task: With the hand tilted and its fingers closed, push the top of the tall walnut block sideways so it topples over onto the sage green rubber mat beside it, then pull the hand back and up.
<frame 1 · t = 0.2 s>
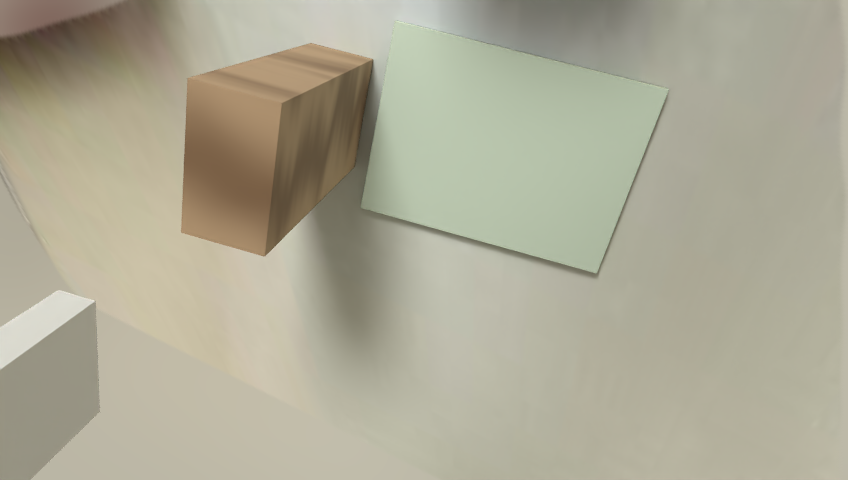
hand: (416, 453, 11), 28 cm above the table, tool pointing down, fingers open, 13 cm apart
walnut block: (333, 107, 38), on the table
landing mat: (501, 151, 37), on the table
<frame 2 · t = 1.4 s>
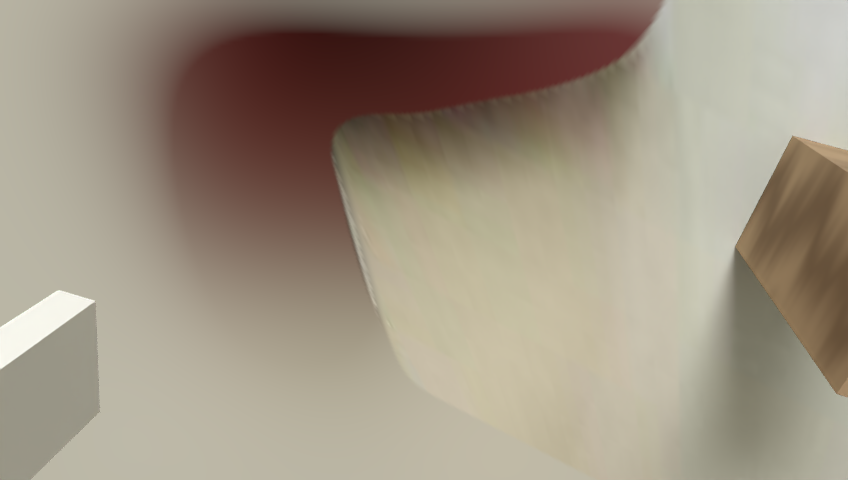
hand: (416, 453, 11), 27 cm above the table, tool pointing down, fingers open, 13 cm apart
walnut block: (797, 203, 34), on the table
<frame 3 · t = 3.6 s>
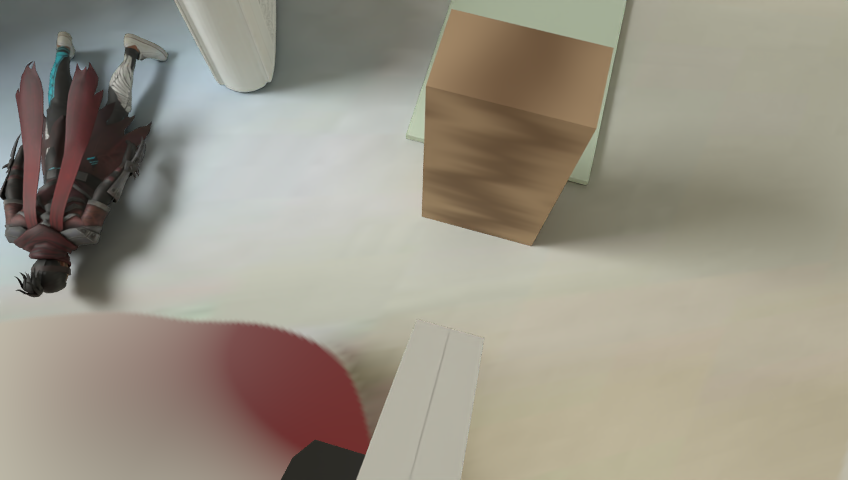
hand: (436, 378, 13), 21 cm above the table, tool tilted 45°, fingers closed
action figure: (95, 175, 39), on the table
walnut block: (483, 202, 38), on the table
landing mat: (522, 62, 41), on the table
photo printer: (249, 33, 42), on the table
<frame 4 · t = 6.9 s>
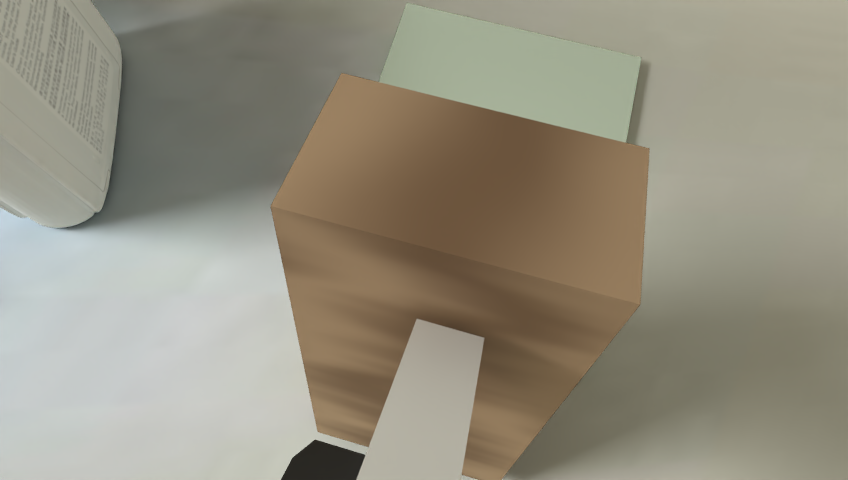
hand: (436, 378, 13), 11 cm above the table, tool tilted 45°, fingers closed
walnut block: (420, 407, 24), on the table, tilted 15°, touching gripper
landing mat: (483, 173, 28), on the table
photo printer: (80, 131, 28), on the table
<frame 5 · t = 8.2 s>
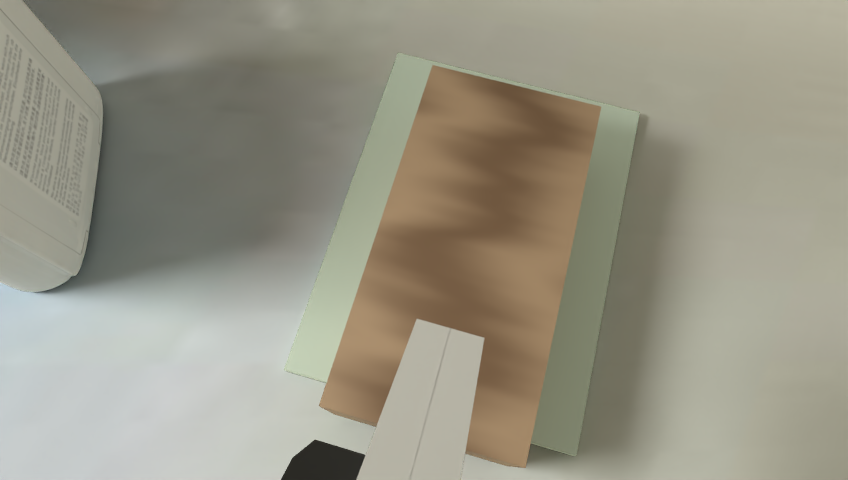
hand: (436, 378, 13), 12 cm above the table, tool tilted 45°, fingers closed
walnut block: (420, 438, 21), point 2 cm above the table, tilted 90°, touching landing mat
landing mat: (475, 234, 27), on the table
photo printer: (58, 186, 27), on the table
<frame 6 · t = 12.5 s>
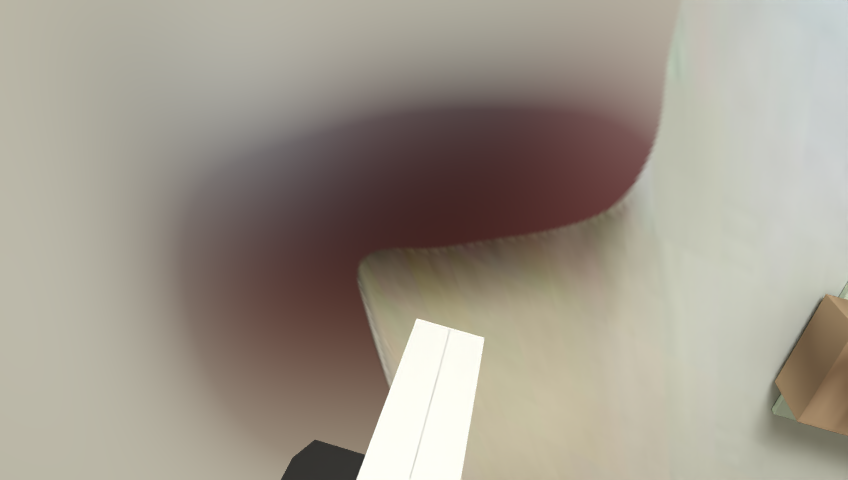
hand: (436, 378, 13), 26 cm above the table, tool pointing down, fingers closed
walnut block: (811, 357, 37), point 2 cm above the table, tilted 90°, touching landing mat
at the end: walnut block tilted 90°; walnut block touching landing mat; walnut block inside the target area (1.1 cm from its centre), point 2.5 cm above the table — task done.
